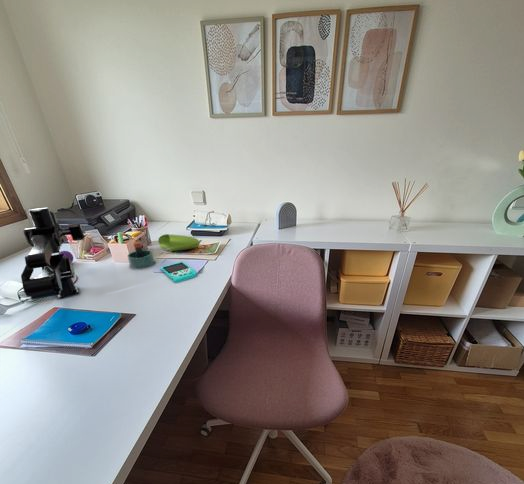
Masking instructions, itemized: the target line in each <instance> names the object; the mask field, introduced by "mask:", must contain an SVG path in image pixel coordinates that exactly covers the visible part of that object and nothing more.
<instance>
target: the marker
mask: <svg viewBox="0 0 524 484" xmlns="http://www.w3.org/2000/svg"><path fill="white" fill-rule="evenodd" d="M132 245H133V247H134V250H135V251H136V254H137V257H138V258H141V257H144V255H143V251H142V250H143V248H142V243H141V241H135V242H133V244H132Z"/></svg>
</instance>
